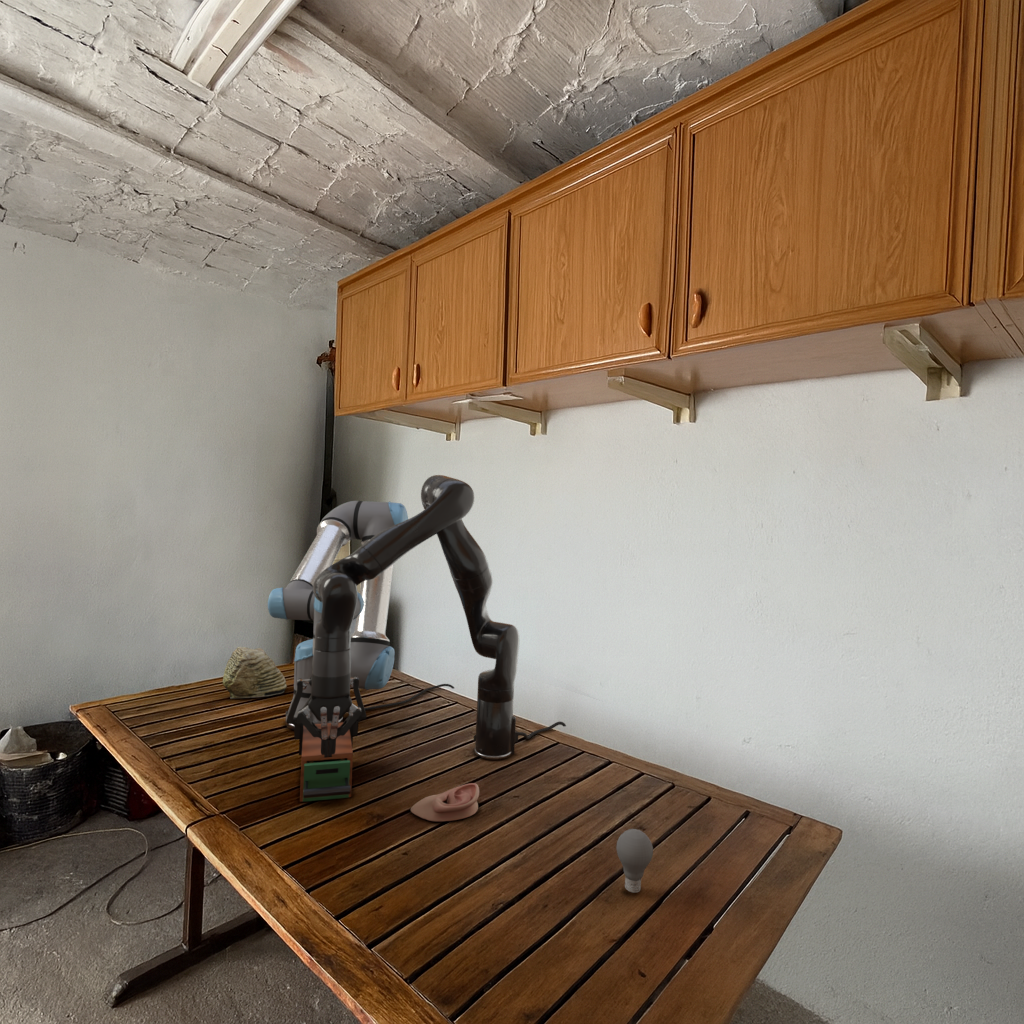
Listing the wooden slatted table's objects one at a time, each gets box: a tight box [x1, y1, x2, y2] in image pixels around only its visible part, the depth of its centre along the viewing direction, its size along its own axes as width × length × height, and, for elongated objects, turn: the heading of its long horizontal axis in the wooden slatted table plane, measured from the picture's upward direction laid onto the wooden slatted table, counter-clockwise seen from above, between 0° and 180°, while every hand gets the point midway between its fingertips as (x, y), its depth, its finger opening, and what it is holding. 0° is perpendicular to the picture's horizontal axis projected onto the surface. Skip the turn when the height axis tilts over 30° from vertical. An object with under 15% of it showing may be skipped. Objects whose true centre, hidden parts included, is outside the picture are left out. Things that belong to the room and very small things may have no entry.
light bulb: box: [615, 828, 654, 894], centre depth 106 cm, size 6×6×10 cm
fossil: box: [222, 646, 288, 699], centre depth 198 cm, size 9×18×15 cm, turn 132°
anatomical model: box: [410, 782, 480, 822], centre depth 131 cm, size 13×4×12 cm
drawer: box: [303, 758, 350, 803], centre depth 136 cm, size 23×9×7 cm, turn 17°
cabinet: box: [299, 721, 354, 803], centre depth 142 cm, size 19×10×10 cm, turn 17°
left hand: (325, 750), depth 146 cm, fingers closed on cabinet, 10 cm apart
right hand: (328, 755), depth 127 cm, fingers closed
